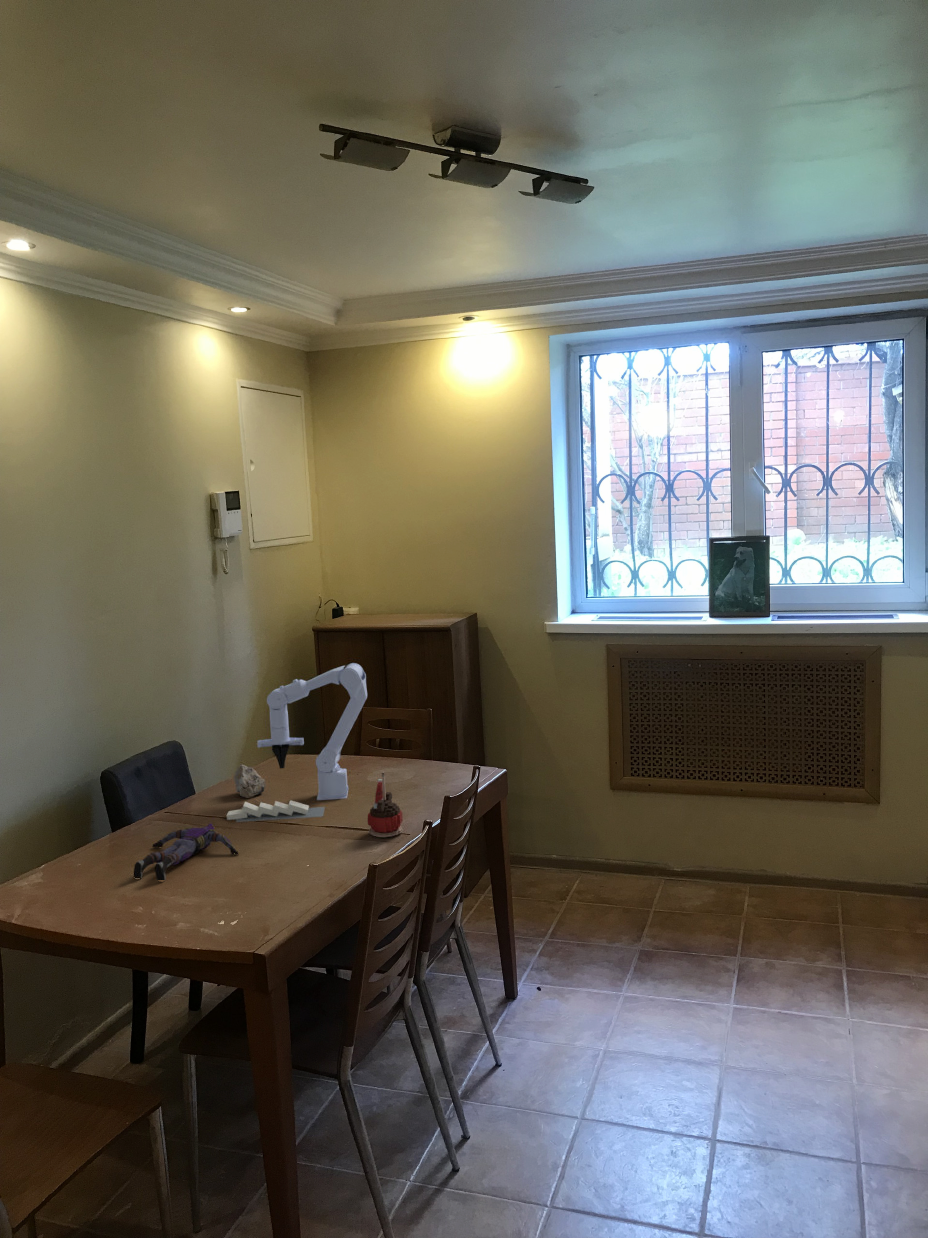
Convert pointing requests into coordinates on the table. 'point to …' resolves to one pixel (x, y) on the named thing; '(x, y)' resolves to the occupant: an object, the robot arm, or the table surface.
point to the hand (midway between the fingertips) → (282, 767)
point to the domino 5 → (298, 807)
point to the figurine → (180, 849)
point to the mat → (286, 815)
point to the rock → (248, 782)
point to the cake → (384, 813)
